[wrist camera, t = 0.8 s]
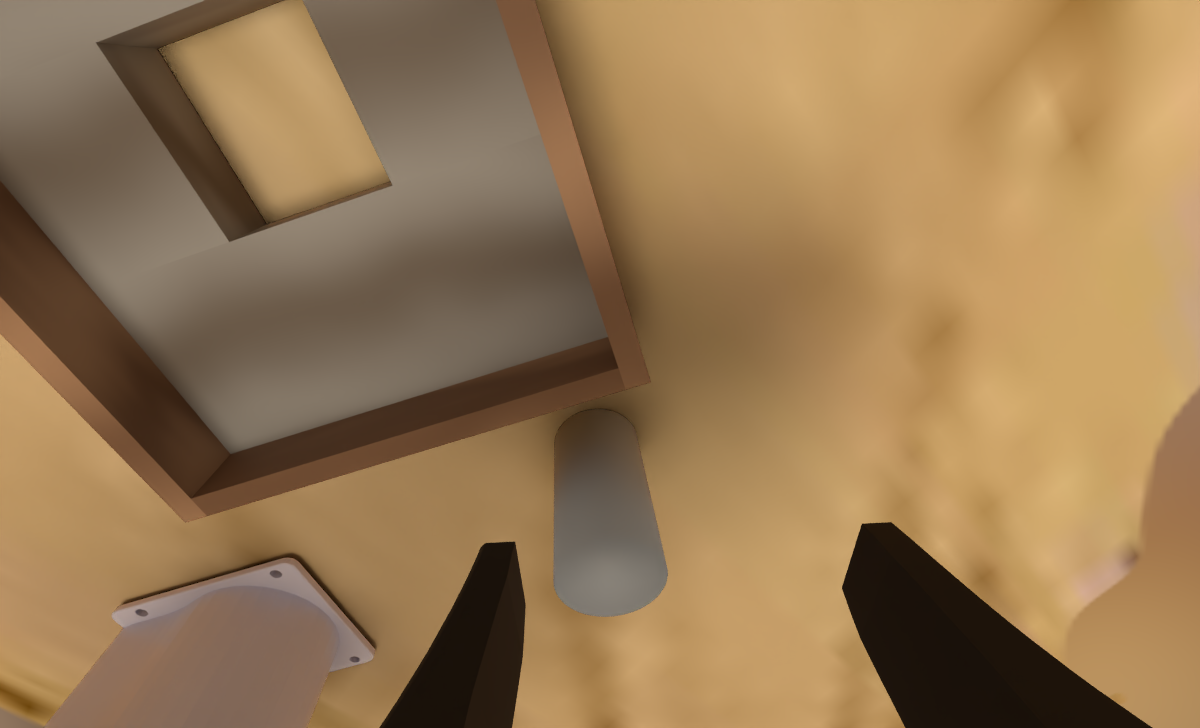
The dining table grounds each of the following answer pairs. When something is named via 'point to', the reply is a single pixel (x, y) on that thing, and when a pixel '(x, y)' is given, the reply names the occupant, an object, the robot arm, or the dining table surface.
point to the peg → (604, 518)
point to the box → (300, 248)
